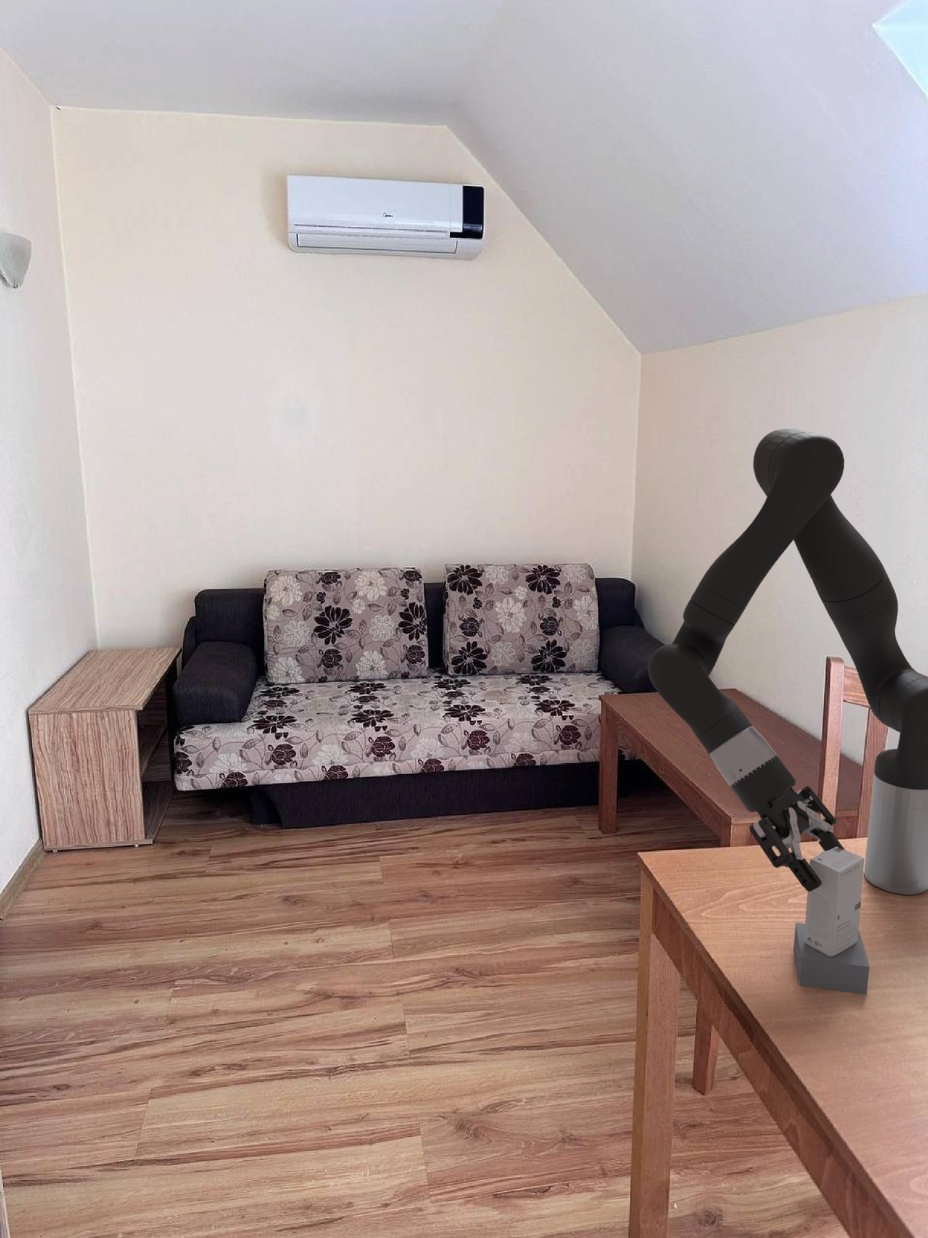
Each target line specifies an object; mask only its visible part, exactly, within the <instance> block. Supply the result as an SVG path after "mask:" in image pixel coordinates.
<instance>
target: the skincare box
mask: <svg viewBox="0 0 928 1238" xmlns="http://www.w3.org/2000/svg"><path fill="white" fill-rule="evenodd" d="M844 849H845V848H844ZM844 849H841V848H839V847H835V848H833V849H831V850H828V851H824V850H823V851H822V852H820V853H819V854H818V855H815V856H814V857H812V858H810V860H809V865H810V866H811V868H812V869H813V870H814V872H815V873H816V874H817V876H818V877H819V879H820V880H821V882H822V884H821V886H820V887H818V888H816V889H814V890H812V891H810V892H809V891H807V895H806V896H807V897H806V911H805V921H804V922H805V923H804V924H805V933H804V942H805V943H806V944H808V945H809V946H811V947H813V948H814V949H816V950H818V951H820V952H822V953H824V954H826V955H828V956H830V957H832V956H835V955H837V954H838V953H840V952H842V951H844V950H846V949H847V948H849V947H850V946H852V945H853V944H855V943H856V942H857V940H858V930H859V929H860V928H859V927H860V926H859V925H860V915H861V907H862V906H861V902H862V891H863V879H864V878H863V877H864V868H865V858H864V857H863V856H860V855H859V854H856V853H854V852H851V851H848V850H846V849H845V850H844Z"/></svg>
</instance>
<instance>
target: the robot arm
mask: <svg viewBox="0 0 928 1238" xmlns="http://www.w3.org/2000/svg"><path fill="white" fill-rule="evenodd" d="M752 468H753V473H754V477H755V480H756V482H757V484H758V486H759V487H760V488H761V490H762V492H763V493H764V495H765V496H766V499H765V500H764V502H763V504H762V506H761V508H760V510H759V511H758V513H757V514H756V516H755V517H754V519H753V520H752V521H751V523H750V524H749V525H748V527H747V528H746V529H745V530H744V531H743V532H742V533H741V534H740V536H738V538H736V539H735V540H734V542H732V543H731V544H730V545H729V546H728V547H727V548H726V549H725V550H724V551H723V552H722V553H721V554H720V555H718V557H717V558H716V559H715V560H714V561H713V562H712V564H711V565H709V568H708V569H707V570H706V572H705V573H704V575H703V577H702V578H701V580H700V581H699V582H698V585H697V587H696V588H695V590H694V592H693V594H692V595H691V596H690V597H689V600H688V602H687V604H686V605H685V608H684V609H683V610H684V611H683V614H682V618H683V621H682V624H681V626H680V628H679V630H678V632H677V633H676V636H675V638H674V639H673V641H672V643H670V644H664V645H662V646H661V647H659V648H657V649H656V650H654V652H652V654H651V656H650V658H649V660H648V663H647V673H648V678H649V680H650V682H651V683H652V686H653V687H654V689H655V691H657V693H658V695H659V696H660V697H661V698H662V699H663V700H664V701H665V702H666V704H667V705H668V706H669V707H670V708H671V709H672V710H673V711H674V712H675V713H676V715H678V716H679V717H680V718H681V719H682V720H683V721H684V722H685V723H686V724H687V725H688V726H689V728H690V729H691V730H692V732H693V734H694V735H695V737H696V738H697V740H698V741H699V742H700V744H701V745H702V747H703V748H704V749H705V751H706V752H707V754H709V756H710V757H711V760H712V761H713V763H714V765H715V766H716V769H717V770H718V773H720V774H721V776H722V778H723V779H724V780H725V782H726V783H727V785H728V786H729V788H730V789H731V790H732V791H733V793H734V794H735V795H736V796H737V798H738V800H739V801H740V802H741V804H742V805H743V806H744V809H746V811H747V812H748V813H754V812H757V814H758V816H759V817H760V819H759V820H758V821H756V822H754V823H752V824H751V825H749V831H750V833H751V834H752V836H753V837H754V839H755V840H756V842H757V843H758V846H759V847H760V848H761V849H762V851H763V852H764V854H765V856H766V857H767V859H768V860H769V862H770V863H771V864H772V866H773V867H774V868H775V869H778V868H781V867H785V868H789V870H790V871H791V872H792V874H793V876H795V878H796V879H797V880H798V882H799V884H800V885H801V886H802V887H803V888H804V890H805V891H807V892H808V891H809V892H810V891H812V890H814V889H816V888H818V887H820V886H821V884H822V882H821V880H820V879H819V877H818V876H817V874H816V873H815V872H814V870H813V869H812V868H811V866H810V862H808V861H807V859H806V858H805V857H803V854H802V850H801V846H800V844H801V842H802V837H801V835H804V834H808V835H809V836H811V837H812V838H814V839H816V840H818V844H819V846H820V847H821V848H822V850H823V852H824V851H828V850H831V849H833V848H835V847H839V848H841V849H844V850H846V848H844V846H843V845H842V843H841V842H840V841H839V840H838V838H837V837H836V835H835V834H834V831H835V830H834V828H833V827H834V825H835V824H836V823H837V820H836V818H835V817H834V815H833V814H832V813H831V811H830V810H829V809H828V808H827V806H826V805H825V804H824V803H823V802H822V800H821V799H820V798H819V796H818V795H817V794H816V793H815V792H814V791H813V789H812V788H811V787H810V786H808V785H806V786H805V787H802V788H801V789H799V790H797V791H795V790H794V789H793V787H794V786H796V783H797V780H796V778H795V777H794V776H793V774H792V773H791V772H790V770H789V769H788V768H787V766H786V765H785V763H784V762H783V761H782V760H781V758H780V757H779V755H778V754H777V753H776V752H775V751H774V748H773V747H772V746H771V745H770V743H769V742H768V740H766V738H765V737H764V736H763V735H762V733H760V731H758V730H757V729H756V727H754V726H753V724H752V723H751V721H750V720H749V719H748V717H747V716H746V715H745V713H744V712H743V710H742V709H741V708H740V707H739V705H737V703H736V702H735V701H734V699H732V698H731V697H730V696H729V695H726V694H725V693H723V692H721V690H720V689H719V688H718V687H717V685H716V684H715V683H714V682H713V681H712V679H711V678H710V675H711V673H712V672H713V669H714V668H715V666H716V664H717V662H718V660H719V657H720V654H721V652H722V651H723V648H724V646H725V643H726V640H727V638H728V636H729V635H730V633H731V632H733V630H734V628H735V626H736V624H738V621H739V620H740V618H741V616H742V615H743V613H744V611H745V610H746V608H747V606H748V605H749V603H750V601H751V599H752V598H753V596H754V595H755V593H756V591H757V590H758V588H759V586H760V585H761V584H762V583H763V581H764V579H765V578H766V577H767V575H768V574H769V572H770V571H771V569H772V568H773V567H774V566H775V564H776V563H777V561H778V560H779V559H780V557H782V555H783V554H784V553H785V551H786V550H787V549H788V548H789V546H790V545H791V543H792V542H794V545H795V547H796V549H797V551H798V554H799V556H800V558H801V560H802V562H803V564H804V566H805V569H806V570H807V573H808V574H809V577H810V579H811V581H812V583H813V585H814V588H815V590H816V592H817V594H818V596H819V599H820V600H821V603H822V604H823V606H824V608H825V611H826V612H827V614H828V616H829V618H830V619H831V621H832V623H833V625H834V626H835V629H836V630H837V633H838V634H839V637H840V638H841V641H842V643H843V645H844V647H845V648H846V650H847V652H848V654H849V656H850V658H851V660H852V662H853V664H854V666H855V670H856V673H857V674H858V677H859V680H860V684H861V686H862V689H863V692H864V695H865V697H866V700H867V703H868V705H869V708H870V710H871V711H872V714H873V715H874V716H875V718H877V720H878V721H879V722H880V723H882V724H883V725H885V726H887V727H888V728H890V729H892V730H894V731H896V732H898V733H899V738H898V743H897V744H898V745H897V748H890V749H886V750H883V751H881V752H879V753H878V754H877V755H876V757H875V761H874V770H873V779H872V789H871V790H872V792H871V801H870V808H869V809H870V812H869V821H868V830H867V831H868V832H867V837H866V838H867V841H866V849H865V858H864V868H863V876H864V877H865V878H866V880H867V881H868V882H869V883H871V884H872V885H874V886H875V887H877V888H879V889H882V890H884V891H887V892H890V893H894V894H898V895H920V894H922V893H925V892H926V891H928V676H927V675H925V674H922V673H920V672H918V671H917V670H916V669H914V668H913V666H912V665H911V664H910V662H909V661H908V660H907V658H906V656H905V655H904V653H903V650H902V648H901V647H900V644H899V642H898V639H897V636H896V627H897V621H898V616H899V615H898V613H899V602H898V601H899V600H898V596H897V593H896V590H895V588H894V586H893V584H892V582H891V578H890V577H889V575H888V572H887V571H886V569H885V566H884V565H883V563H882V561H881V560H880V558H879V556H878V554H877V553H876V552H875V551H874V549H873V548H872V546H871V545H870V544H869V543H868V542H867V540H866V539H865V538H864V537H863V536H862V535H861V533H860V532H859V530H857V529H856V528H855V527H854V525H852V523H851V522H850V521H849V520H848V519H847V518H846V516H845V515H844V514H843V513H842V511H841V510H840V508H839V506H838V505H837V504H836V502H835V500H834V498H833V495H832V493H834V491H835V489H836V488H837V486H838V485H839V484H840V481H841V479H842V478H843V473H844V470H845V457H844V453H843V451H842V449H841V447H840V446H839V444H838V443H837V442H836V441H835V440H834V439H832V438H831V437H828V436H827V435H824V434H822V433H821V434H820V433H816V432H812V431H808V430H804V429H803V430H802V429H797V428H779V429H776V430H773V431H770V432H769V433H768V434H766V435H765V436H764V437H762V439H761V440H760V441H759V443H758V445H757V446H756V448H755V451H754V455H753V462H752ZM818 812H819V813H818ZM820 814H821V815H822V816H821V815H820ZM822 817H823V819H822ZM773 847H774V848H775V849H776V850H778V854H779V855H777V853H775V850H774V849H773ZM790 850H791V852H790Z"/></svg>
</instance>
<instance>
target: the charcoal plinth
mask: <svg viewBox="0 0 928 1238" xmlns="http://www.w3.org/2000/svg"><path fill="white" fill-rule="evenodd" d="M860 932H861V931H860V930H859V929H858V940H857V942H856V943H855V944H853V945H852V946H850V947H849V948H847V949H846V950H844V951H842V952H840V953H838V954H837V955H835V956H832V957H830V956H828V955H826V954H824V953H822V952H820V951H818V950H816V949H814V948H813V947H811V946H809V945H808V944H806V943H805V942H804V933H805V923H804V922H803V923H802V922H795V929H794V940H793V952H794V953H793V954H794V959H795V965H796V966H795V967H796V972H797V978H798V985H799V986H802V987H803V986H804V987H809V988H817V989H823V990H831V991H840V992H846V993H852V994H861V995H868V987H869V978H870V969H871V968H870V963H869V960H868V957H867V953H866V950H865V947H864V943H863V939H862V936H861V933H860Z"/></svg>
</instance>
